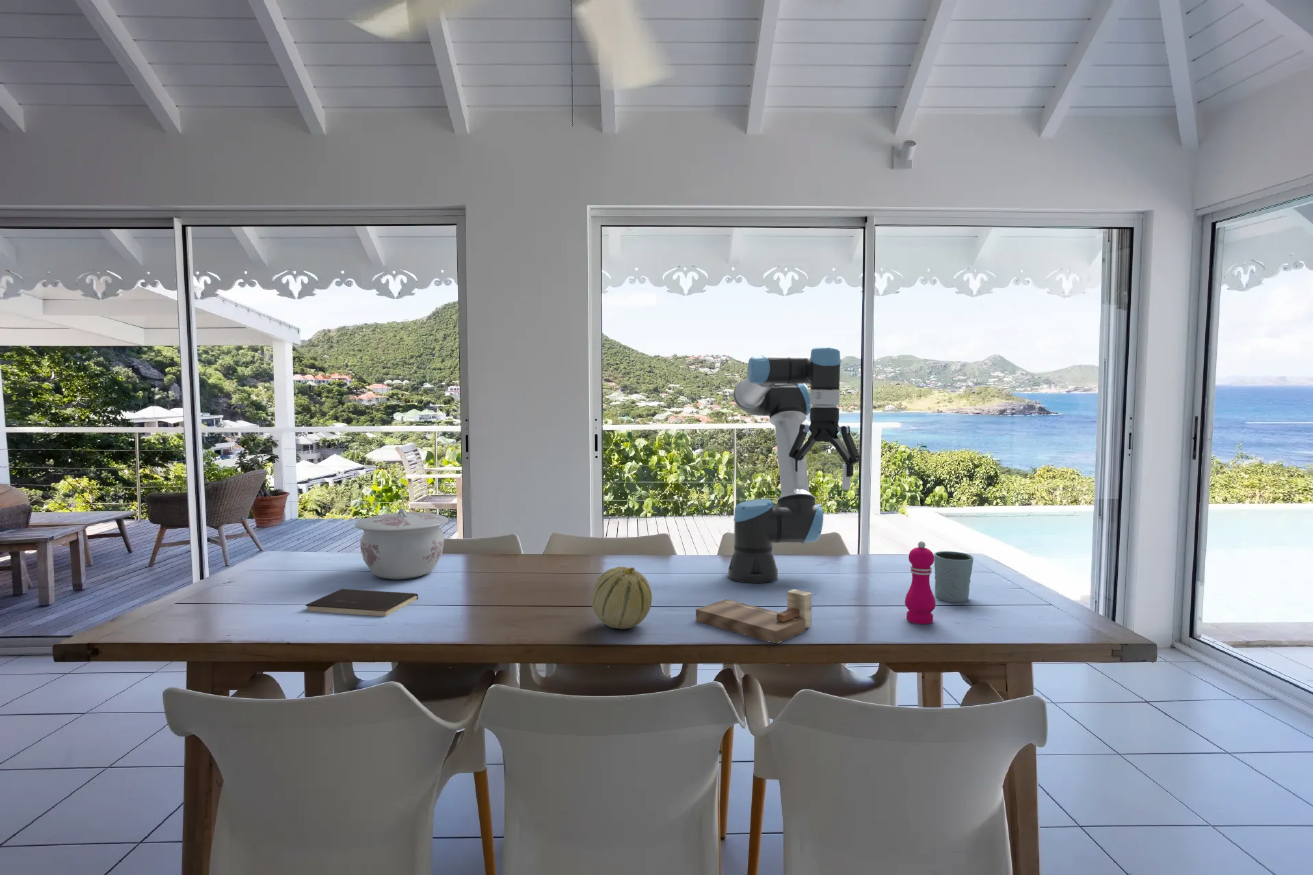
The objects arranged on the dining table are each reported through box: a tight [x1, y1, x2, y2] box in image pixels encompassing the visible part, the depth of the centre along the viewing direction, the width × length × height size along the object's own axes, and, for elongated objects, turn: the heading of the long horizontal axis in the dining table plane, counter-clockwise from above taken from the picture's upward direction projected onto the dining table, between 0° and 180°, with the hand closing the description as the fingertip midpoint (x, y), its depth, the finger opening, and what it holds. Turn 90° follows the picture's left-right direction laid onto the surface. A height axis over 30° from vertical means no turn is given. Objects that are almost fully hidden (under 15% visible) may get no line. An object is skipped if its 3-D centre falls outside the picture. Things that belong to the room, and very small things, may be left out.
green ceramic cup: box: [933, 550, 974, 603], centre depth 205 cm, size 10×10×12 cm
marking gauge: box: [777, 588, 813, 629], centre depth 179 cm, size 5×11×8 cm, turn 136°
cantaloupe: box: [591, 566, 653, 630], centre depth 181 cm, size 15×15×15 cm
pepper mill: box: [904, 540, 936, 625], centre depth 186 cm, size 7×7×20 cm
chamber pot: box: [354, 508, 449, 581], centre depth 230 cm, size 28×28×21 cm
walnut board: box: [695, 598, 806, 644], centre depth 182 cm, size 24×12×3 cm, turn 46°
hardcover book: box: [305, 588, 419, 617], centre depth 199 cm, size 16×23×2 cm
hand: (823, 486), depth 198 cm, fingers open, 13 cm apart
